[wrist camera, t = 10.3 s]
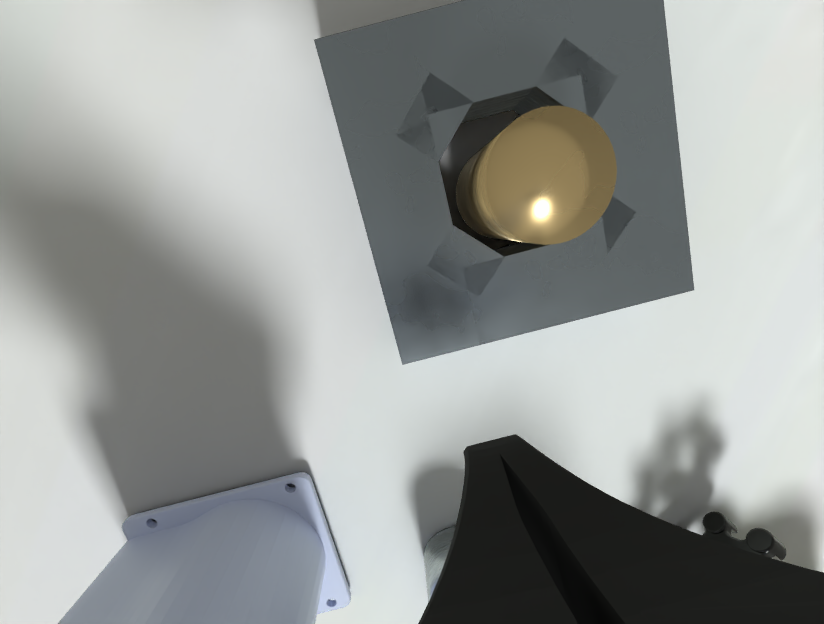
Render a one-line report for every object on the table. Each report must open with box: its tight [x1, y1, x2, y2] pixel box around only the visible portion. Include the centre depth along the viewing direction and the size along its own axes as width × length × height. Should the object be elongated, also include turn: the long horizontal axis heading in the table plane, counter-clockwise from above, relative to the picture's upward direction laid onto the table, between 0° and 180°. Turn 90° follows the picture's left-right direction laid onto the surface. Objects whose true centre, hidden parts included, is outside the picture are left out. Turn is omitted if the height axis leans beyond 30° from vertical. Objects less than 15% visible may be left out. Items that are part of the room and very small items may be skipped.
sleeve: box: [424, 527, 455, 602], centre depth 20 cm, size 4×4×4 cm
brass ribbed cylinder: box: [456, 106, 617, 245], centre depth 15 cm, size 4×4×6 cm
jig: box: [314, 0, 694, 365], centre depth 17 cm, size 12×12×3 cm
